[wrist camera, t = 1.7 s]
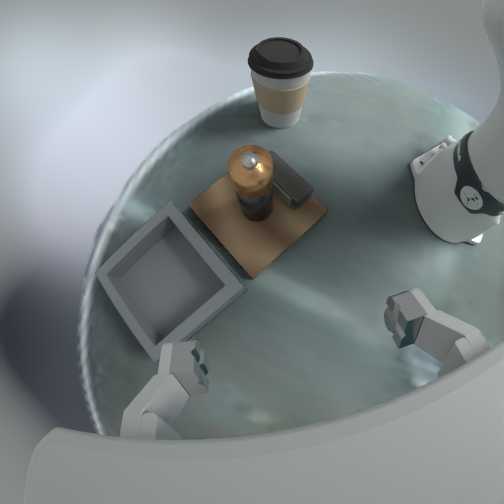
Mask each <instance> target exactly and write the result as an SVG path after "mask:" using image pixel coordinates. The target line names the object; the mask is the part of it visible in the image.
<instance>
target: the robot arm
mask: <svg viewBox="0 0 504 504" xmlns="http://www.w3.org/2000/svg"><path fill="white" fill-rule="evenodd" d="M482 20H483V25H484V28H485V32H486V34H487V37H488V39H489V41H490V43H491V45H492V47H493V50H494V53H495V55H496V59H497V62H498V68H499V74H500V75H499V76H500V83H499V91H498V96H497V99H496V102H495V104H494V106H493V107H492V109H491V111H490V112H489V114H488V115H487V116H486V118H485V119H484V120H483V121H482V123H481V124H480V125H479V126H478V127H477V128H476V130H475V131H471V132H469V133H468V134H466V135H465V136H464V137H463V138H462V139H460V140H458V141H457V140H455V139H453V138H452V137H451V136H450V135H449V136H448V137H446V138H445V139H444V140H443V142H442V143H441V144H440V145H438V146H436V147H435V148H433V149H431V150H430V151H428V152H426V153H424V154H423V155H421V156H419V157H418V158H416V159H414V160H413V161H412V162H411V163H410V167H411V170H412V173H413V176H414V179H415V197H416V202H417V205H418V208H419V211H420V213H421V215H422V217H423V219H424V221H425V222H426V224H427V225H428V226H429V228H430V229H431V230H432V231H433V232H434V233H435V234H436V235H437V236H439V237H440V238H442V239H443V240H445V241H448V242H452V243H459V242H468V243H471V244H474V245H476V244H478V243H479V242H480V241H481V239H482V235H483V233H485V232H486V231H488V230H490V229H491V228H493V227H494V226H496V225H497V224H498V223H499V219H500V216H501V214H504V0H483V2H482ZM420 163H421V164H422V165H421V164H420ZM386 304H387V305H388V307H387V308H386V310H385V312H384V321H385V324H386V327H387V329H388V330H389V331H391V332H392V333H393V340H394V341H395V343H396V345H397V347H398V349H399V348H402V347H405V346H408V345H410V344H413V343H414V344H415V345H416V346H418V347H419V348H421V349H422V350H424V351H425V352H427V353H428V354H429V355H431V356H432V357H434V358H435V359H437V360H438V361H440V362H441V363H443V365H442V366H441V368H440V370H439V372H438V376H439V378H438V379H436V380H434V381H432V382H429V383H427V384H425V385H423V386H421V387H419V388H417V389H414V390H412V391H410V392H407V393H405V394H403V395H400V396H398V397H395V398H393V399H390V400H388V401H385V402H382V403H380V404H377V405H374V406H371V407H368V408H366V409H363V410H359V411H356V412H353V413H350V414H347V415H343V416H340V417H336V418H333V419H329V420H325V421H321V422H317V423H313V424H309V425H305V426H300V427H295V428H290V429H285V430H280V431H274V432H268V433H261V434H254V435H246V436H237V437H227V438H214V439H194V440H181V435H180V434H179V433H178V432H176V431H175V430H174V429H173V428H172V425H173V423H174V422H175V420H176V418H177V417H178V415H179V414H180V412H181V410H182V409H183V407H184V405H185V404H186V402H187V400H188V399H189V397H190V396H189V395H196V394H205V393H208V379H207V377H206V374H207V373H208V371H209V366H208V359H207V356H206V354H205V352H204V351H203V350H201V344H200V342H199V341H198V340H191V341H182V342H173V343H164V344H163V346H162V349H161V355H160V361H159V367H158V374H157V375H154V376H153V377H152V378H151V380H150V381H149V382H148V383H147V384H146V386H145V387H144V388H143V389H142V390H141V391H140V393H139V394H138V395H137V396H136V397H135V399H134V400H133V401H132V402H131V403H130V404H129V406H128V407H127V408H126V409H125V410H124V412H123V418H122V424H121V430H120V437H116V436H107V435H100V434H93V433H87V432H81V431H76V430H70V429H66V428H61V427H57V428H54V429H53V430H51V431H50V432H49V433H48V434H47V435H46V436H45V437H44V438H43V439H42V440H41V441H40V442H39V443H38V444H37V446H36V447H35V449H34V452H33V454H32V457H31V461H30V465H29V470H28V474H27V479H26V485H25V492H24V500H23V504H504V339H503V340H501V341H500V342H498V343H497V344H496V345H494V346H493V347H490V345H489V344H488V342H487V341H486V340H485V338H484V337H483V335H482V334H481V332H480V331H479V330H478V328H476V327H474V326H471V325H469V324H467V323H465V322H463V321H461V320H459V319H457V318H455V317H452V316H450V315H448V314H446V313H444V312H442V311H440V310H437V311H436V310H435V309H434V307H433V306H432V305H431V303H430V302H429V301H428V299H427V298H426V297H425V295H424V294H423V293H422V292H421V290H420V289H419V288H414V289H411V290H408V291H404V292H401V293H398V294H395V295H392V296H389V297H388V298H387V302H386Z"/></svg>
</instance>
